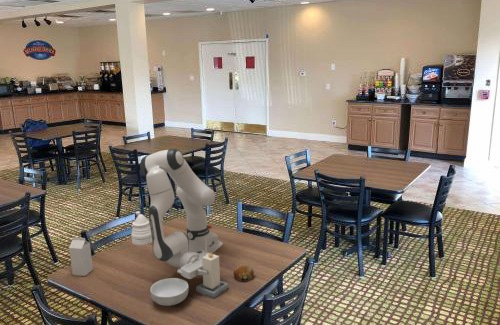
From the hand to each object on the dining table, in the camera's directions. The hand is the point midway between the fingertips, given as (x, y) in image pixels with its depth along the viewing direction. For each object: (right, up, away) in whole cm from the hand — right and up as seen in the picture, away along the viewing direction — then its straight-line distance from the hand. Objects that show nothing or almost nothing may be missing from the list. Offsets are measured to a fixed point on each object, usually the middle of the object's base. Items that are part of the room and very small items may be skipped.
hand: (212, 270), depth 195 cm
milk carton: (-69, -7, +23) cm, 73 cm away
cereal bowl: (-18, -13, -5) cm, 23 cm away
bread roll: (+14, -7, +15) cm, 21 cm away
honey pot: (-47, +2, +61) cm, 77 cm away
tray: (0, -10, +3) cm, 10 cm away
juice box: (-1, -7, +2) cm, 8 cm away
